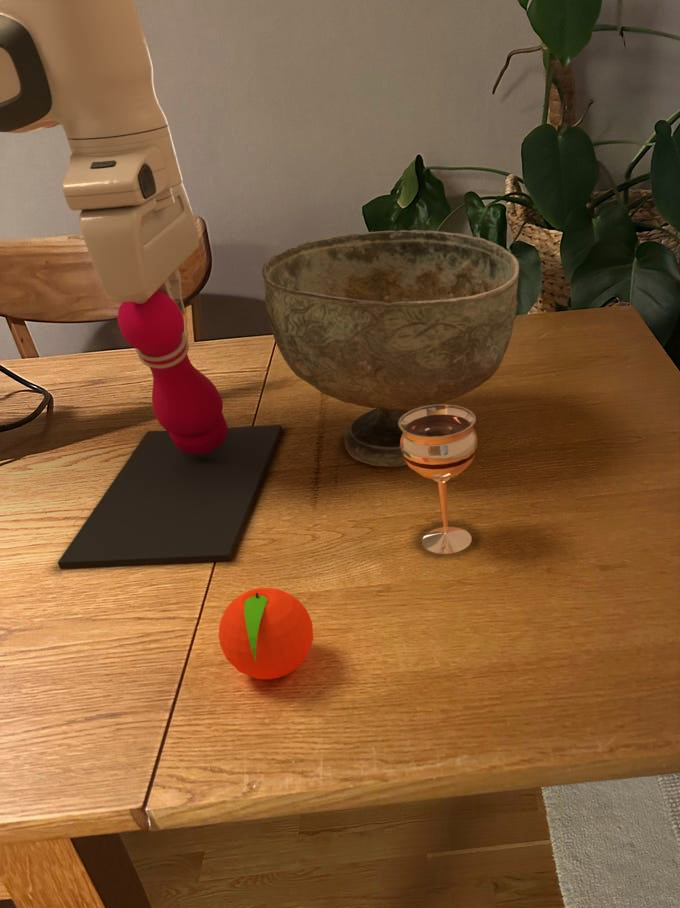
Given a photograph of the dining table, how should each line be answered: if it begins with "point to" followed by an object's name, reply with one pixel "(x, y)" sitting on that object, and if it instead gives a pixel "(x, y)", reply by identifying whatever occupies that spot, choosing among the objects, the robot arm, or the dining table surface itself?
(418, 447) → the wineglass
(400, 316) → the decorative bowl
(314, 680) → the dining table surface
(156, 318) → the pepper mill
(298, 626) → the clementine
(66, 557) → the mat
